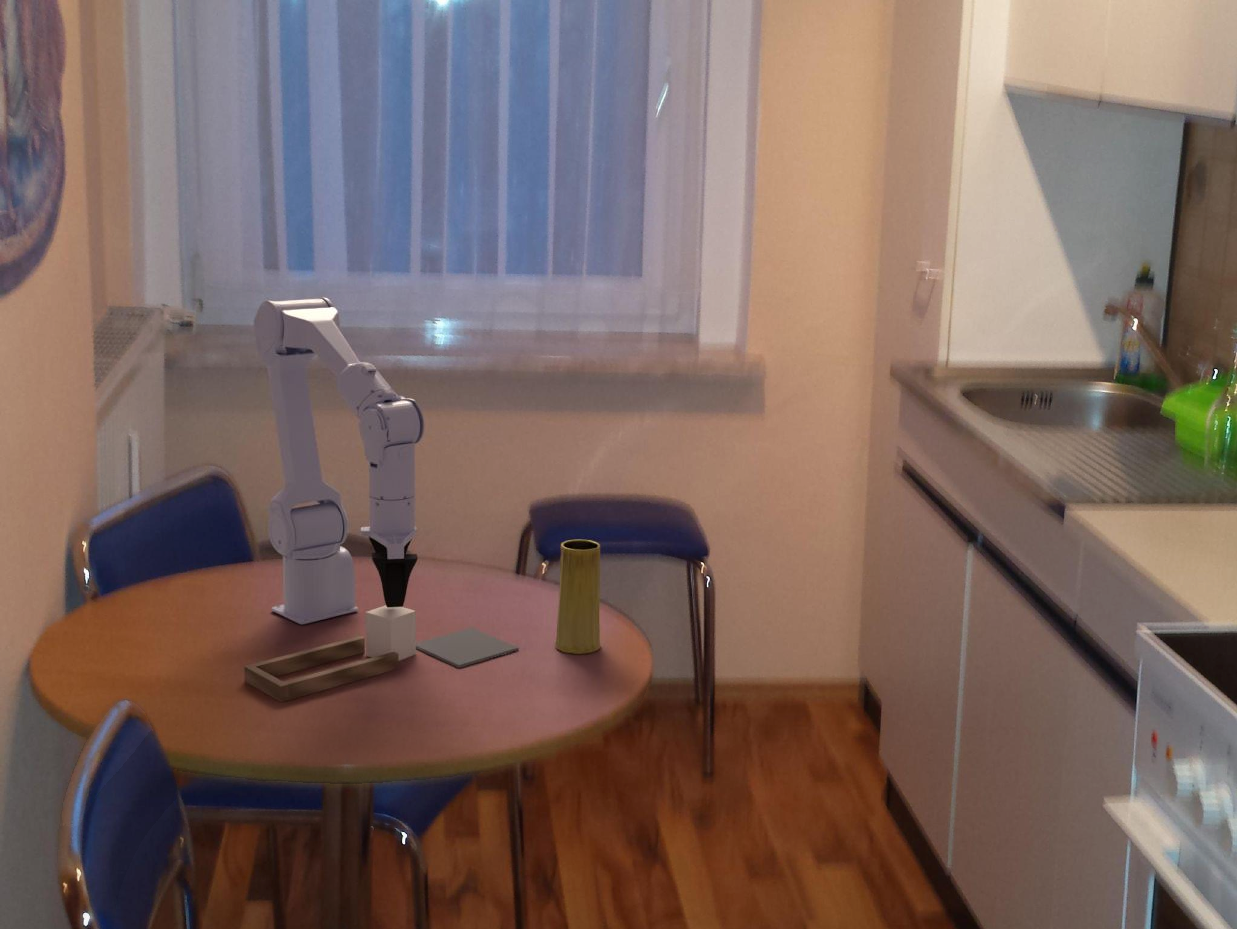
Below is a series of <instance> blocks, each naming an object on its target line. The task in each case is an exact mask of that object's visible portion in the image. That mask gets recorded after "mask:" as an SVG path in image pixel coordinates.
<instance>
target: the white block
mask: <svg viewBox="0 0 1237 929" xmlns="http://www.w3.org/2000/svg"><path fill="white" fill-rule="evenodd" d="M416 623H417V622H416V610H413V609H411V608H407V607H404V606H403V607H387V606H386V604H385V605H383V606H380V607H377V608H373V609H371V610H368V611H365V649H366V650H365V652H366V657H370V658H373V657H376V656H380V655H383V654H387V653H391V652H396V653H398V662H399V661H403V660H406V659H408V658H409V657H411V656H414V655H416V654H417V651H416V650H417V649H416V643H417V640H416V637H417V636H416V628H417V627H416V626H417V625H416Z"/></svg>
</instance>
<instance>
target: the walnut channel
mask: <svg viewBox="0 0 1237 929" xmlns="http://www.w3.org/2000/svg"><path fill="white" fill-rule="evenodd" d="M365 649H366V637H363V636H362V635H359V636H358V635H357V636H354V637H351V638H347V639H342V640H340V641H336V642H332V643H327V644H323V645H321V646H320V645H319V646H316V647H313V648H312V647H311V648H309V649H306V650H302V651H301V650H300V651H298V652H297V651H296V652H294V653H290V654H286V655H282V656H278V657H274V658H271V659H267V660H262V661H258V662H255V663H251V664H248V665H244V666H243V671H244V672H243V673H244V674H243V675H244V676H243V677H244V682H245V683H246V684H248V685H250V686H252V687H253V688H255V689H257V690H259V691H261V692H262V693H265V694H266V695H268V696H270V697H271V698H273V699H275V700H276V701H279V702H280V703H283V702H287V701H290V700H293V699H297V698H300V697H304V696H307V695H311V694H315V693H318V692H322V691H325V690H328V689H332V688H336V687H339V686H342V685H346V684H350V683H353V682H357V681H360V680H364V679H367V678H371V677H375V676H377V675H381V674H385V673H388V672H391V671H395V670H398V669H399V661H398V653H396V652H391V653H387V654H383V655H380V656H376V657H373V658H372V657H370V658H366V659H362V660H359V661H354V662H351V663H348V664H344V665H339V666H337V667H334V668H329V669H326V670H325V669H324V670H323V671H319V672H316V673H312V674H308V675H304V676H300V677H297V678H293V679H289V680H286V681H282V680H281V679H279V678H277V677H279V676H283V675H286V674H289V673H293V672H294V673H295V672H297V671H302V670H305V669H308V668H312V667H316V666H319V665H324V664H327V663H331V662H334V661H338V660H341V659H346V658H349V657H353V656H356V655H361V654H365V652H366V650H365Z"/></svg>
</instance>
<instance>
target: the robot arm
mask: <svg viewBox="0 0 1237 929" xmlns="http://www.w3.org/2000/svg"><path fill="white" fill-rule="evenodd" d="M340 322H341V320H340V314H339V310H337V309H336V307H335V305H334V304H333V302H332V301H331V300H330V299H329V298H327V297H326V296H324V297H323V296H322V297H317V298H307V299H306V298H305V299H291V300H275V301H272V300H264V301H262V302H261V304H260V305H259V307H258V308H257V311H256V314H255V316H254V319H253V329H254V336H255V342H256V351H257V354H258V359H259V362H260V363H261V364H264V365H265V366H266V367H267V369H266V370H267V376H268V380H269V381H268V382H269V389H270V395H271V402H272V409H273V415H274V420H275V427H276V434H277V440H278V448H279V453H280V461H281V467H282V475H283V480H284V486H282V488H281V489H280V490H279V491H278V492H277V494H276V495H274V496H273V497H272V498H271V499H270V501H269V502H268V513H269V514H268V515H269V516H268V517H269V518H268V526H267V528H268V537H269V540H270V543H271V546H273V549H274V550H275V551H276V552H277V553H278V554H280V555H282V575H283V576H282V578H283V579H282V580H283V604H281V605H276V606H272V607H271V611H272V612H274V613H276V614H278V615H280V616H283V617H285V618H286V619H288V620H291V621H292V622H294V623H297V624H298V625H307V624H311V623H315V622H318V621H322V620H326V619H330V618H334V617H338V616H343V615H347V614H351V613H354V612H358V611H359V607H357V606H356V599H355V598H356V597H355V596H356V595H355V594H356V593H355V591H356V590H355V587H356V586H355V564H354V560H353V557H352V555H351V552H349V550H348V549H346V548H345V547H343V545H342V544H343V543H344V542H346V539H347V537H348V534H349V527H350V522H349V518H348V514H347V512H346V511H345V507H344V506H343V502H342V499H341V498H342V497H341V493H340V492H339V491H338V490H337V489H336V488H334V487H332V486H331V485H329V484H327V483H326V482H325V481H324V480H323V477H322V470H321V464H320V458H319V457H320V456H319V449H318V444H317V443H318V442H317V437H316V436H317V435H316V429H315V421H314V416H313V410H312V403H311V397H310V396H311V395H310V391H309V390H310V389H309V384H308V377H307V376H308V375H307V369H308V366H309V365H310V363H311V361H314V360H315V359H317V358H318V359H319V360H321V362H322V363H323V364H324V365H326V367H327V368H328V369H329V370H330V371H331V372H332V374H334V375H335V377H336V378H337V383H336V390H337V392H338V394H339V396H340V397H341V398H342V399H343V401H344V402H345V403H346V405H347V406H348V407H349V408H350V410H351V411H352V412H353V414H354V415H355V416H356V418H357V419H358V420H359V421H360V422H358V430H359V434H360V437H361V440H362V443H363V447H364V456H365V460H366V461H368V466H369V467H368V475H369V477H368V478H369V482H368V483H369V484H368V486H369V491H368V492H369V495H368V496H369V526H361V527H360V536H361V537H368V540H369V542H370V543H371V546H372V548H373V550H374V551H375V552H371V559H372V562H373V564H374V566H375V568H376V570H377V572H378V575H379V578H380V581H381V588H382V593H383V598H384V603H385V605H386V606H387V607H404V603H405V601H406V596H407V590H408V584H409V580H410V577H411V575H412V571H413V569H414V567H415V565H417V564H416V563H417V561H418V558H419V557H418V554H417V553H409V554H408V553H407V552H408V548H409V546H410V544H411V542H412V540H413V538H415V536H416V535H417V534H418V533H417V526H416V514H415V513H416V452H415V451H416V449H415V447H416V444H418V443H419V442H420V441H421V440H422V438H423V437H424V433H425V432H424V431H425V419H424V418H425V417H424V414H423V411H422V409H421V407H420V406H419V404H418V403H417V400H415V399H413V398H410V397H409V398H408V397H407V398H406V397H405V396H404V395H398V394H397V393H396V391H395V390H393V388H392V387H391V385H390V384H389V383H388V382H387V380H386V379H385V378H384V377H383V375H382V374H381V373H380V372H379V371H378V370H377V368H376V366H375V365H374V364H373V363H370V362H367V361H366V362H364V361H362V362H361V361H360V360H359V358H358V357H357V355H356V354H355V352H354V350H353V349H352V348H351V345H350V344H349V342H348V340H346V338H345V337H344V335H343V333H342V332H341V331H340V330H341V329H340V327H341V326H340V325H341V324H340ZM312 502H317V504H310V505H305V506H304V505H303V506H299V507H295V506H297V505H301V504H306V503H307V504H308V503H312Z"/></svg>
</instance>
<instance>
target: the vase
mask: <svg viewBox="0 0 1237 929" xmlns="http://www.w3.org/2000/svg"><path fill="white" fill-rule="evenodd" d="M600 577H601V544H600V543H599V542H597V541H594V540H590V539H589V540H588V539H582V538H581V539H570V540H565V541H563V542H561V543H560V561H559V589H558V590H559V592H558V606H557V607H558V608H557V621H556V622H557V623H556V624H557V625H556V640H555V642H554V646H555V648H556V649H557V650H558V649H559V651H560V650H561V651H560V652H562V653H565V652H566V653H565V654H570V653H572V655H588V654H593V653H595V652H596V651H599V649H600V648H601V645H602V644H601V639H600V636H601V630H600V629H601V627H600V590H601V587H600V585H601V583H600ZM587 653H588V654H587Z"/></svg>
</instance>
